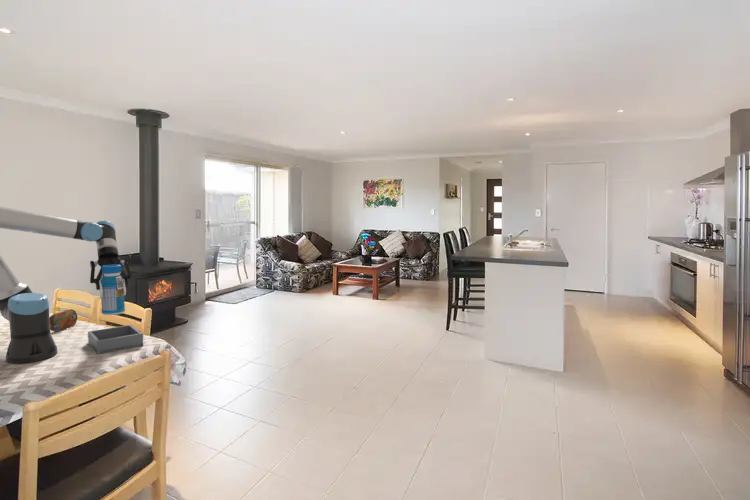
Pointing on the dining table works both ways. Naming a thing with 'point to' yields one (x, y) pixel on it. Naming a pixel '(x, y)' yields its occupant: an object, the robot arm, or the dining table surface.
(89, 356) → the dining table surface
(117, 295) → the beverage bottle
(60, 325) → the tin
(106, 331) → the tray
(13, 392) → the dining table surface
